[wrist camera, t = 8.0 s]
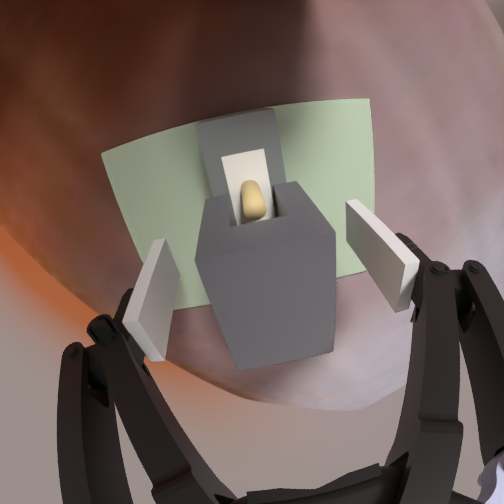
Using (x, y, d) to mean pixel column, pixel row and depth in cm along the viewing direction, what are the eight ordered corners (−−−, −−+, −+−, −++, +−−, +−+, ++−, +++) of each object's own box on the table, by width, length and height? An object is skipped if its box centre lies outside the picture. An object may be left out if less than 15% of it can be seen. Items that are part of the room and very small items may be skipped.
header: (103, 152, 15) (52, 181, 10) (366, 98, 15) (425, 106, 9) (167, 308, 23) (155, 367, 17) (368, 266, 22) (402, 317, 17)
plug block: (204, 199, 14) (193, 260, 9) (296, 180, 14) (336, 231, 9) (233, 296, 18) (237, 371, 13) (306, 281, 18) (333, 351, 13)
